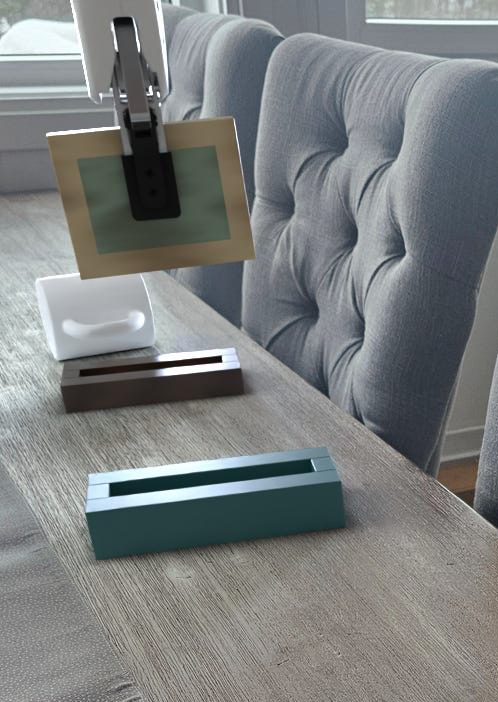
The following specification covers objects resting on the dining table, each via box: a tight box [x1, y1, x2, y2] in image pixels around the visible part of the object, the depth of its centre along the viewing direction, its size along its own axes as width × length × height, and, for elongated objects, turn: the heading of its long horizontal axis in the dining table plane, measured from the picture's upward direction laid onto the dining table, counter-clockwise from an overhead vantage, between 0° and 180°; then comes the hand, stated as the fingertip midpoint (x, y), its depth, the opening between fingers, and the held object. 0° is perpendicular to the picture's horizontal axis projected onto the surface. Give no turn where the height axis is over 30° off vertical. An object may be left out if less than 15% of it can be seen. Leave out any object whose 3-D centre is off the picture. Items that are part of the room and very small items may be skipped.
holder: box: [84, 445, 347, 561], centre depth 79 cm, size 17×7×4 cm, turn 105°
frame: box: [45, 115, 257, 280], centre depth 76 cm, size 12×1×9 cm, turn 106°
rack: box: [59, 346, 246, 414], centre depth 105 cm, size 16×7×2 cm, turn 105°
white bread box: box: [34, 272, 156, 361], centre depth 114 cm, size 12×10×8 cm
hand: (156, 214), depth 76 cm, fingers closed on frame, 1 cm apart
